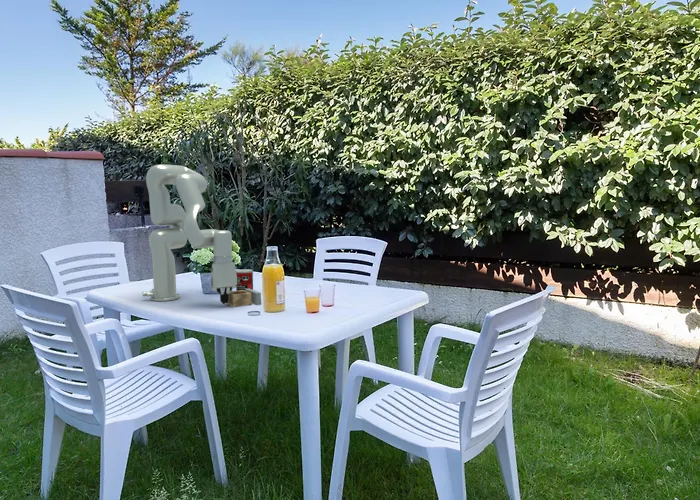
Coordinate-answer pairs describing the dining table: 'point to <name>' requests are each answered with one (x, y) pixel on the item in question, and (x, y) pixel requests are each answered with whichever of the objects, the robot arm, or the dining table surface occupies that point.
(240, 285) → the canned food
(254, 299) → the wall
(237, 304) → the wooden open box
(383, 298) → the dining table surface
